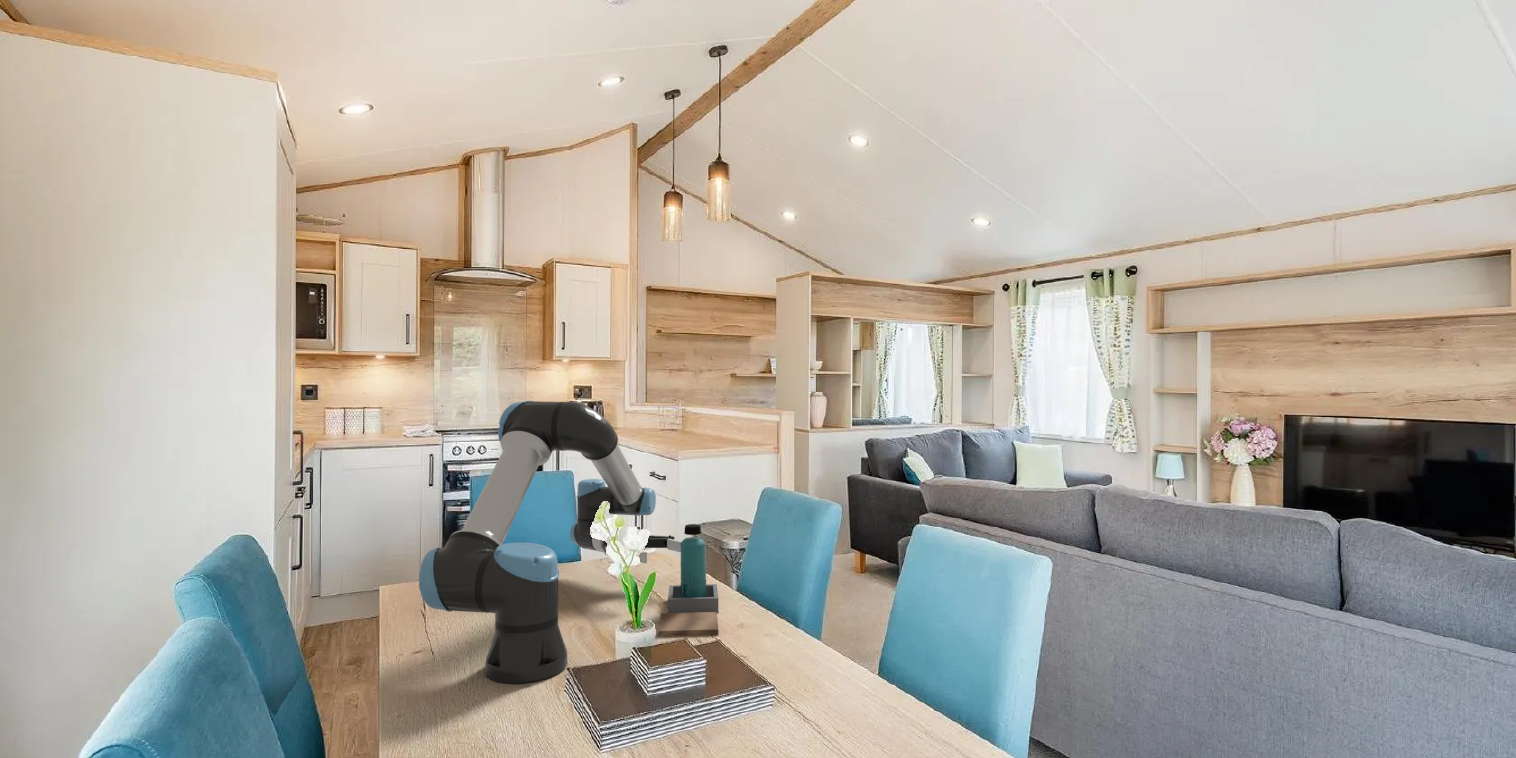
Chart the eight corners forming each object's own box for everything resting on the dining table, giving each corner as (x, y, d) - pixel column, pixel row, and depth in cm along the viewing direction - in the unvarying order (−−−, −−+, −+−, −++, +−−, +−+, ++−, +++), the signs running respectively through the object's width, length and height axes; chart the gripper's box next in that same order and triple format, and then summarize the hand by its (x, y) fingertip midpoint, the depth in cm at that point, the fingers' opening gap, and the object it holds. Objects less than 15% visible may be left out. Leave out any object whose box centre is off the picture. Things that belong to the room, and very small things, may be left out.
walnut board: (658, 636, 158) (658, 631, 158) (660, 618, 170) (660, 613, 170) (718, 634, 160) (718, 629, 160) (716, 616, 171) (716, 611, 171)
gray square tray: (667, 614, 173) (667, 599, 173) (669, 599, 185) (669, 585, 185) (718, 612, 174) (718, 598, 174) (716, 597, 186) (716, 584, 186)
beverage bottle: (711, 604, 181) (711, 523, 181) (695, 611, 175) (695, 528, 175) (690, 600, 184) (690, 521, 184) (674, 607, 179) (674, 525, 179)
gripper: (647, 545, 210) (700, 557, 196) (574, 563, 190) (628, 577, 177) (647, 519, 209) (700, 529, 196) (574, 534, 190) (627, 546, 177)
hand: (666, 552), depth 186 cm, fingers open, 13 cm apart
